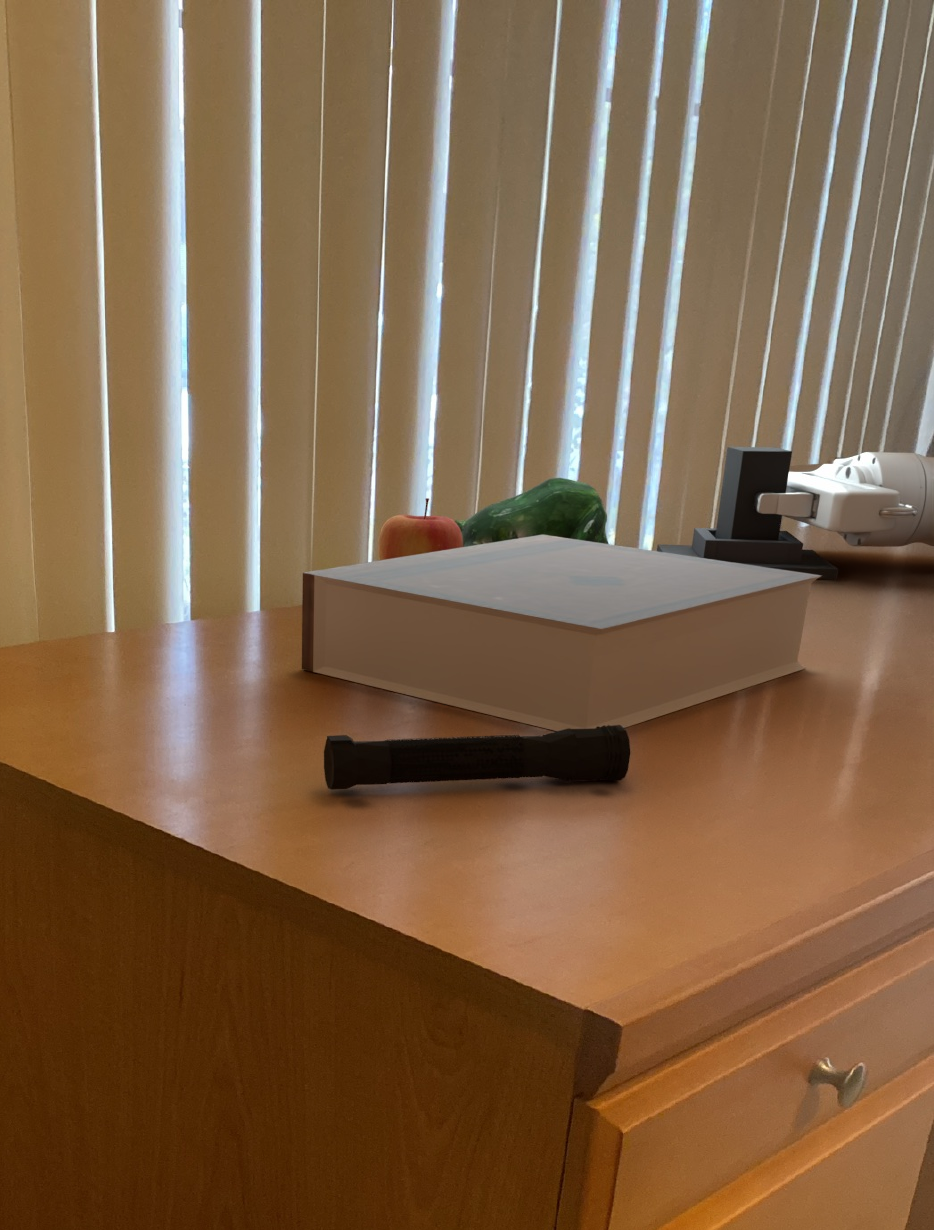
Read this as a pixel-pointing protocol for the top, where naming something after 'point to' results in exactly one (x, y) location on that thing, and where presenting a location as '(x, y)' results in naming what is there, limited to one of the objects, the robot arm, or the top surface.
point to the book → (555, 629)
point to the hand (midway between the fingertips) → (743, 498)
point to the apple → (417, 535)
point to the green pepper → (540, 515)
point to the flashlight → (479, 758)
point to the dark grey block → (751, 492)
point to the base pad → (756, 553)
